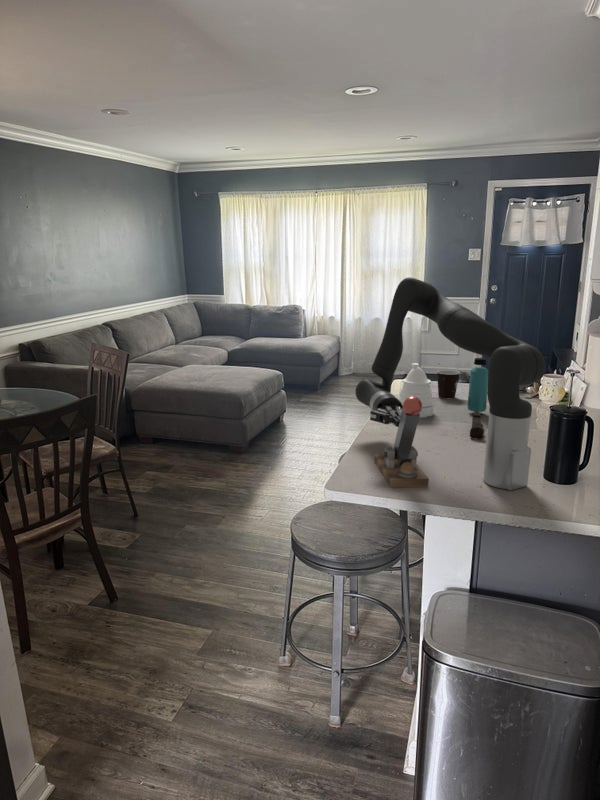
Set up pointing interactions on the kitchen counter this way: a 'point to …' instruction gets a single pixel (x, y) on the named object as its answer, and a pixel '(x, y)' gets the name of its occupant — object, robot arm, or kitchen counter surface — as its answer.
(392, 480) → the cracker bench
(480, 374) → the beverage bottle
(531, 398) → the kitchen counter surface
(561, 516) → the kitchen counter surface
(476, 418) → the hand tool
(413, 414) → the lever
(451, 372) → the coffee mug
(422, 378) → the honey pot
